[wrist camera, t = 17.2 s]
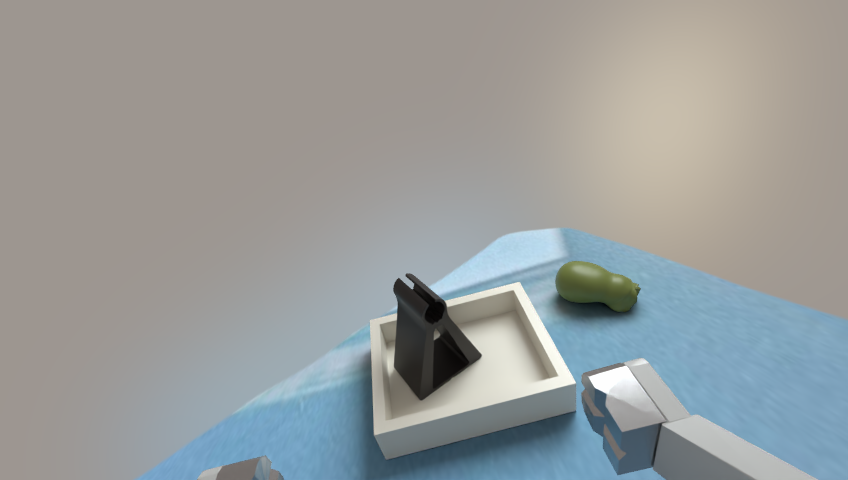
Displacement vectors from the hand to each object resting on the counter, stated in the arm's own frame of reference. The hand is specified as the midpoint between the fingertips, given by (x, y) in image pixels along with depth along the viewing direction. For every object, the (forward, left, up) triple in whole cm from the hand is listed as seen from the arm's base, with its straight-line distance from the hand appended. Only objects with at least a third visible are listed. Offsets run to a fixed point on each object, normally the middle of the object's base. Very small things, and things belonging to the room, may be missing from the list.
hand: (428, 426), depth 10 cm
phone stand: (-1, +27, -29) cm, 40 cm away
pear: (+21, +31, -30) cm, 49 cm away
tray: (+2, +25, -30) cm, 39 cm away
